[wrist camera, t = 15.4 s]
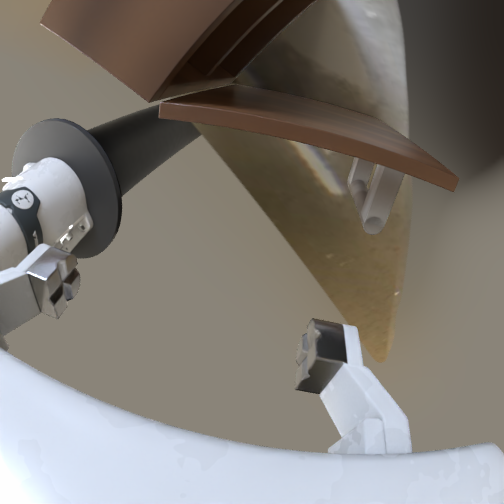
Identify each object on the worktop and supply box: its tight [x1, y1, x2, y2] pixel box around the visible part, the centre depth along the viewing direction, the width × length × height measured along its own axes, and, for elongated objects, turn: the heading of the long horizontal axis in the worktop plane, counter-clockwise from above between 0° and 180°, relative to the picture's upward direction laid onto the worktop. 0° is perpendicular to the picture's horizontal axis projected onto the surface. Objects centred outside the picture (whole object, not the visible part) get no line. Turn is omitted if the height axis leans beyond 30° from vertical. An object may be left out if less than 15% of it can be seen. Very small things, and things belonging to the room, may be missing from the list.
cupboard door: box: [159, 84, 459, 235], centre depth 26 cm, size 8×18×22 cm, turn 80°
